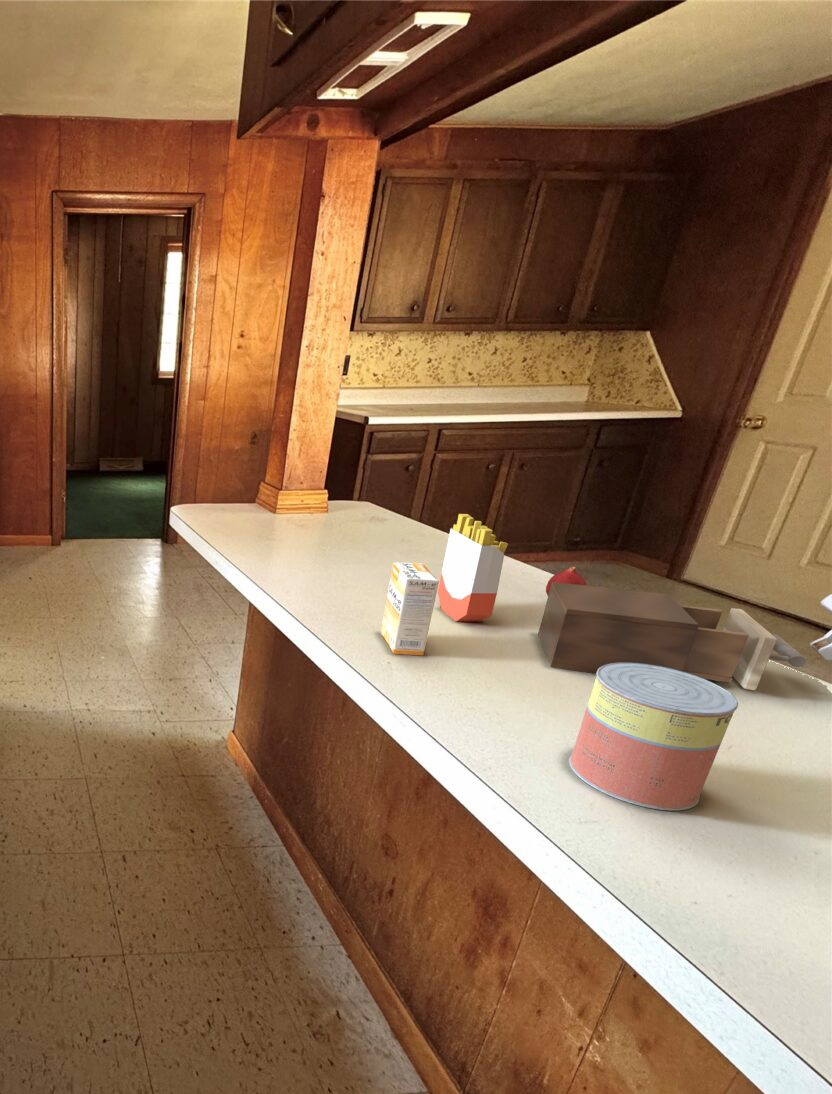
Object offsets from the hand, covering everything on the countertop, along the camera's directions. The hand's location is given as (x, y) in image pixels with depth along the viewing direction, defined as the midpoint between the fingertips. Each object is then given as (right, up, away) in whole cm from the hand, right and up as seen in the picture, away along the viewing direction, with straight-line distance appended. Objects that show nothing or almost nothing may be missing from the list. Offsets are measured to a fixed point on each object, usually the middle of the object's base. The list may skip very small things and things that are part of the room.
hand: (817, 652), depth 91 cm
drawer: (-10, -3, +7) cm, 12 cm away
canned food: (-40, -13, -15) cm, 44 cm away
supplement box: (-47, 0, +19) cm, 51 cm away
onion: (-11, +6, +31) cm, 33 cm away
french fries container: (-30, +4, +29) cm, 42 cm away
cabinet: (-20, -2, +12) cm, 23 cm away
